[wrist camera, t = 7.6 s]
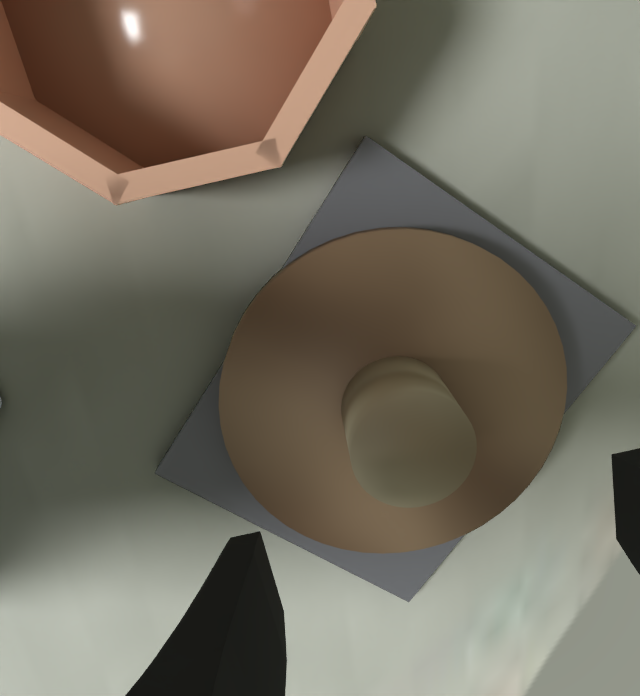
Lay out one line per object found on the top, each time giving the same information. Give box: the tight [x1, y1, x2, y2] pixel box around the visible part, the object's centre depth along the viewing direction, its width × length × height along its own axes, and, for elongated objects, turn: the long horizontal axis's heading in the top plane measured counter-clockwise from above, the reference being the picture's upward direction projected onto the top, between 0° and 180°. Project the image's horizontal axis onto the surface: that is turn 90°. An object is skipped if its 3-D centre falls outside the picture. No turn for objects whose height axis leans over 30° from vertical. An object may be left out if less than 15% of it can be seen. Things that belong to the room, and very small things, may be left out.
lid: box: [219, 227, 567, 554], centre depth 16 cm, size 10×10×4 cm
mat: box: [155, 136, 636, 602], centre depth 18 cm, size 12×10×1 cm
